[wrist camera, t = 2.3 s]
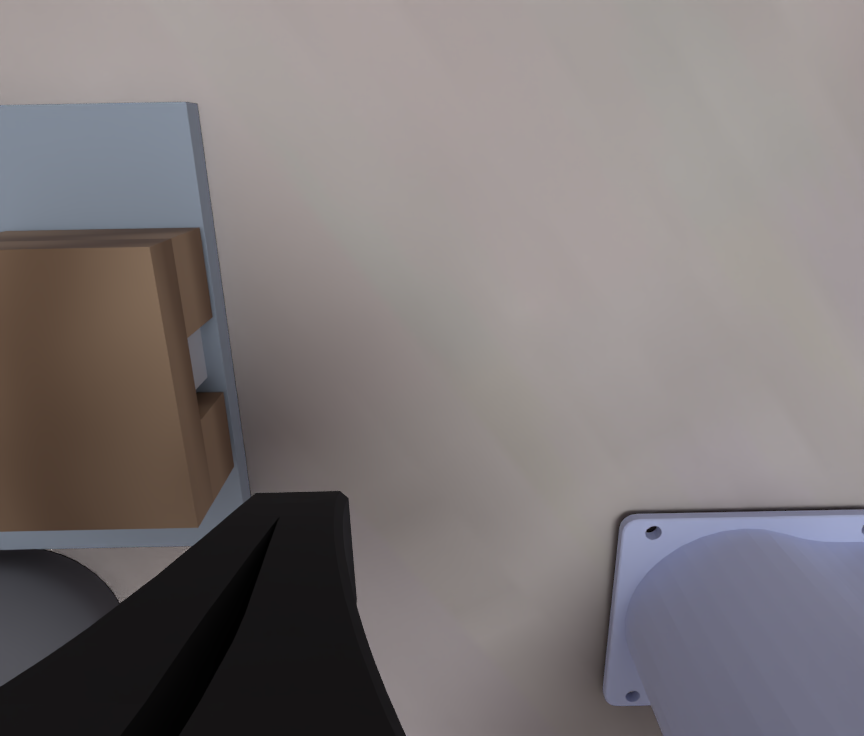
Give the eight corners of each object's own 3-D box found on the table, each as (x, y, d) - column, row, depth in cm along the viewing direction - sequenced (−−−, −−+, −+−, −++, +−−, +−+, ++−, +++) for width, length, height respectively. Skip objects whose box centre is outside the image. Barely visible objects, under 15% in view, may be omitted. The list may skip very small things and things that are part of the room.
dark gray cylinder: (107, 545, 21) (72, 590, 19) (139, 682, 23) (110, 736, 21) (-74, 549, 21) (-129, 594, 19) (-25, 685, 23) (-70, 740, 21)
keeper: (199, 227, 16) (149, 246, 13) (234, 466, 18) (198, 527, 15) (5, 231, 16) (-88, 251, 13) (66, 469, 18) (-2, 531, 15)
